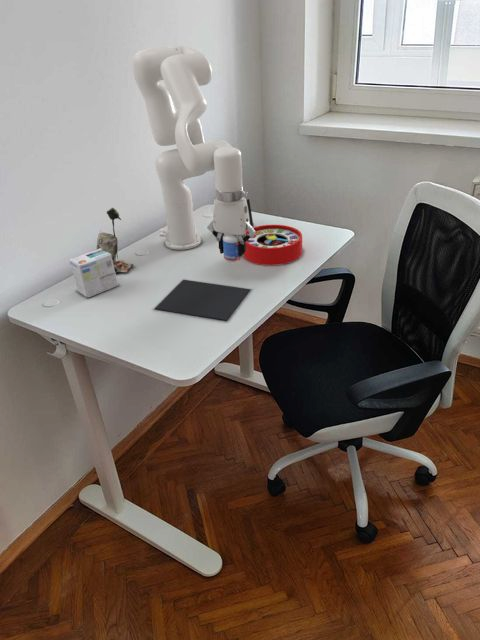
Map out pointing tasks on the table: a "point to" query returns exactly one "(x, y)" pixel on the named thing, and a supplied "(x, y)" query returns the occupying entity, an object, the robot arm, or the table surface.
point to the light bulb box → (93, 272)
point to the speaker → (249, 212)
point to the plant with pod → (112, 244)
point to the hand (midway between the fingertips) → (232, 252)
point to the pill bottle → (231, 247)
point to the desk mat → (203, 300)
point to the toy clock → (274, 245)
